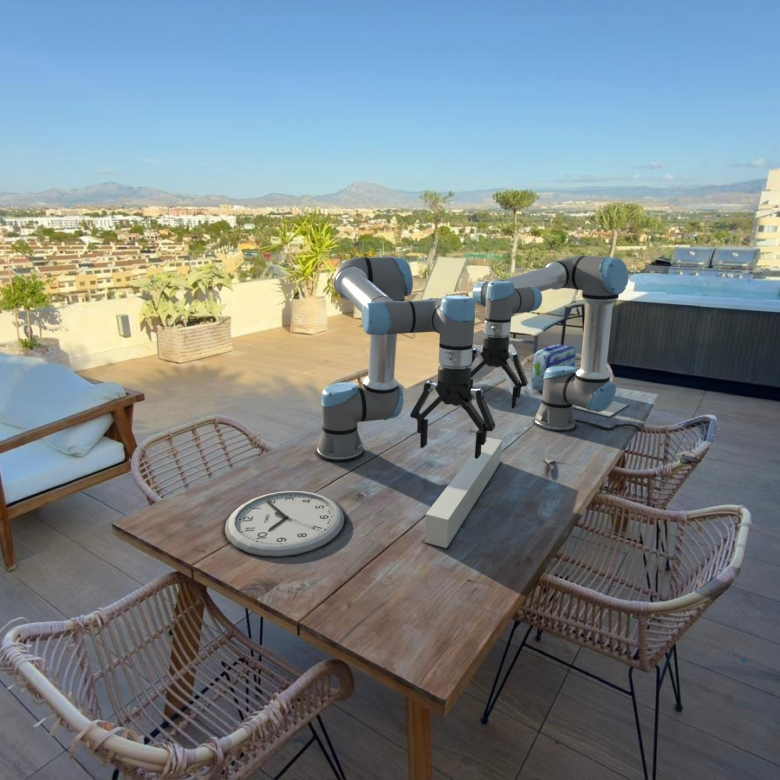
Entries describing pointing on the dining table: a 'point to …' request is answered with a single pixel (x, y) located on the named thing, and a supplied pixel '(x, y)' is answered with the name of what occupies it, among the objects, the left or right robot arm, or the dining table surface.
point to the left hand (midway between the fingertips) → (450, 451)
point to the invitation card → (607, 409)
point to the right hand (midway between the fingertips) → (491, 404)
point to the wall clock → (284, 523)
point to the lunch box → (550, 362)
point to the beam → (461, 494)
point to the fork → (548, 462)
